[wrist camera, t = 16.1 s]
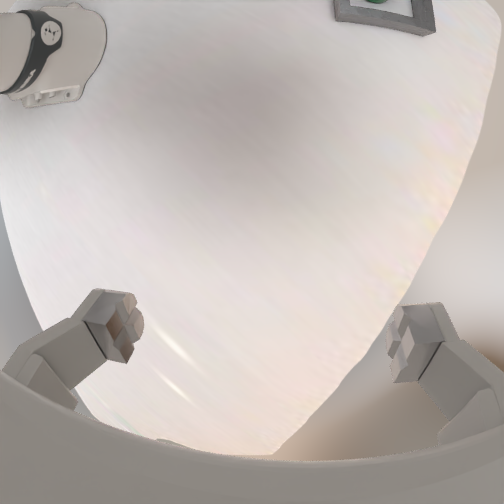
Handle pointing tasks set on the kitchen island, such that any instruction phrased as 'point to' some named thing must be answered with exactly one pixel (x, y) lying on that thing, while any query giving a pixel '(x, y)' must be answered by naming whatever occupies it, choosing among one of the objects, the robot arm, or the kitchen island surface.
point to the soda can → (378, 1)
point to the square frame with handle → (390, 17)
